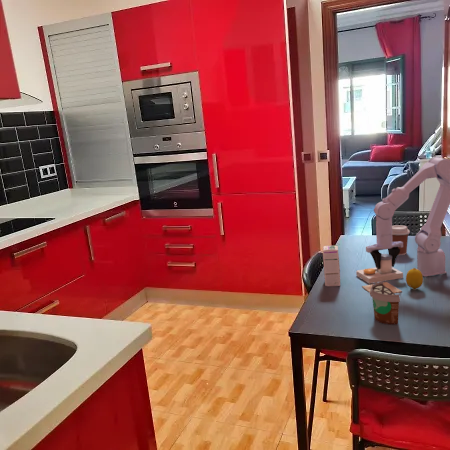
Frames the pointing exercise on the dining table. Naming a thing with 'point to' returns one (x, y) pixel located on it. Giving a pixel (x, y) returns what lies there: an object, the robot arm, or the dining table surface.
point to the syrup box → (331, 265)
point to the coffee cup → (400, 237)
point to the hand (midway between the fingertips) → (384, 267)
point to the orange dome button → (369, 271)
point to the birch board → (386, 284)
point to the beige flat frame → (379, 275)
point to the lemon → (414, 278)
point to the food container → (385, 304)
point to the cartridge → (385, 264)
